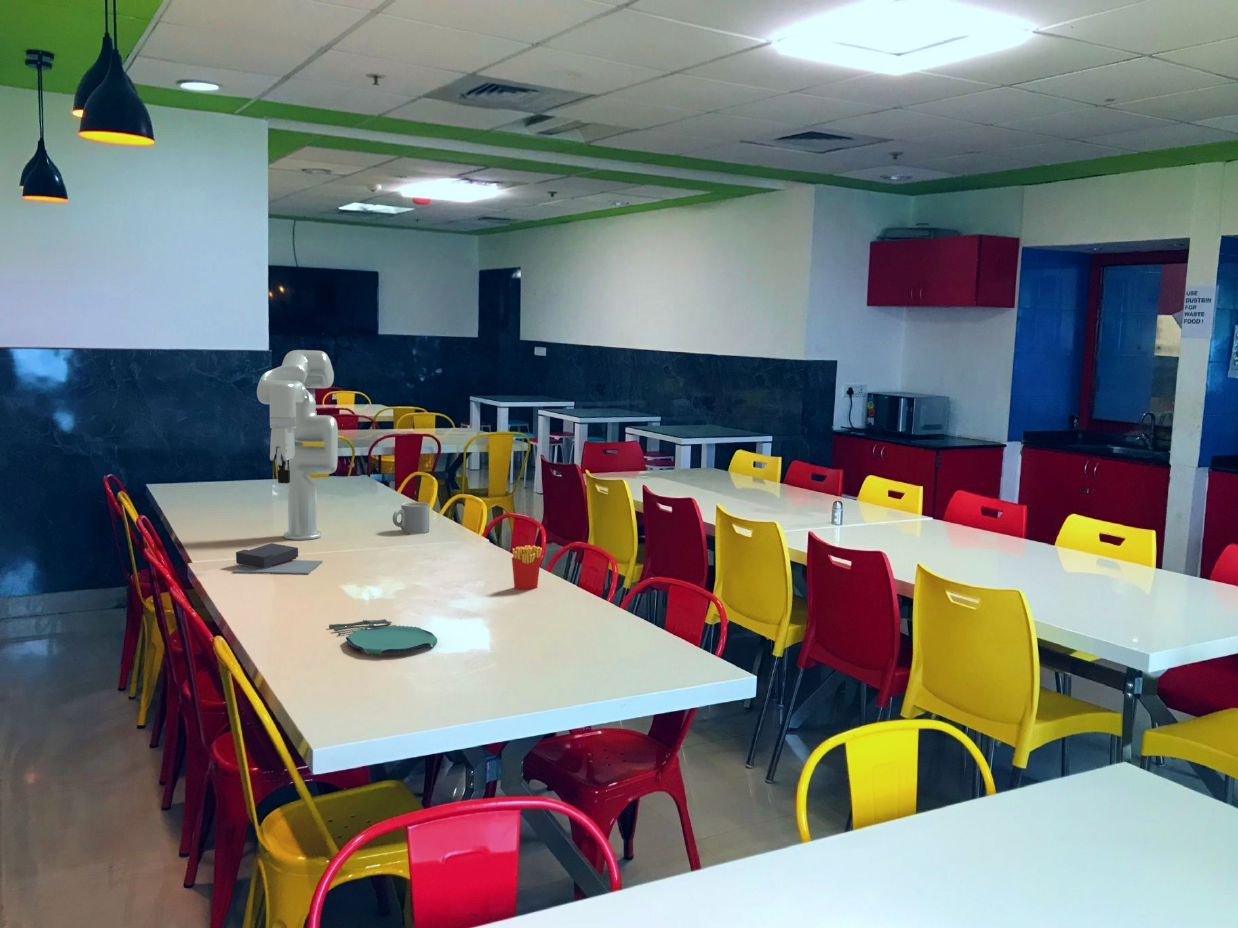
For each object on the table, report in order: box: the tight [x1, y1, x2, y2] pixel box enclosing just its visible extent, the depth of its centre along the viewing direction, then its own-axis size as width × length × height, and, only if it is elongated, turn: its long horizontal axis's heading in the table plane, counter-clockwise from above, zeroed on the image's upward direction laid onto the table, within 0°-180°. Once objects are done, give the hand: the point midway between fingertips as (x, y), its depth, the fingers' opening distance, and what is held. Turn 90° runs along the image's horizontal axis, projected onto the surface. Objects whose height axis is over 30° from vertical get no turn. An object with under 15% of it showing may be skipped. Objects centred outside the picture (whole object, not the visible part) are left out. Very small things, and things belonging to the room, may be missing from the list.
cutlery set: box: [328, 618, 438, 656], centre depth 238 cm, size 20×30×2 cm, turn 35°
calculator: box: [235, 543, 299, 569], centre depth 309 cm, size 11×4×15 cm
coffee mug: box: [392, 501, 430, 534], centre depth 364 cm, size 13×10×10 cm
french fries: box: [511, 544, 543, 591], centre depth 288 cm, size 8×4×12 cm, turn 111°
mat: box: [232, 559, 323, 575], centre depth 305 cm, size 16×22×1 cm
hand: (284, 482), depth 309 cm, fingers closed
